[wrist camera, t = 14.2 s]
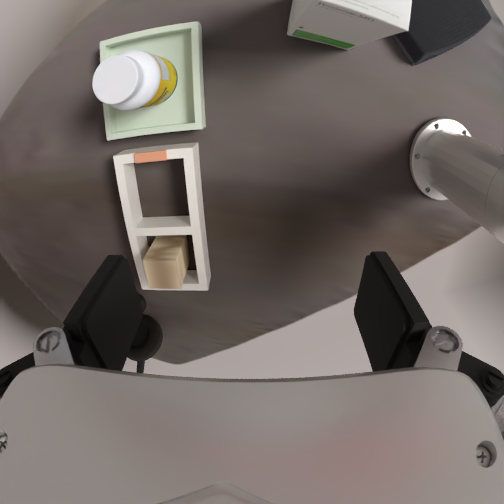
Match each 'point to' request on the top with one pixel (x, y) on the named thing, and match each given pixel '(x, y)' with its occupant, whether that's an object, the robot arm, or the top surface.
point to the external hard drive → (440, 27)
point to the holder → (167, 224)
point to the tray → (187, 90)
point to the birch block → (167, 262)
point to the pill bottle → (134, 80)
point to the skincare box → (348, 20)
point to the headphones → (145, 339)
